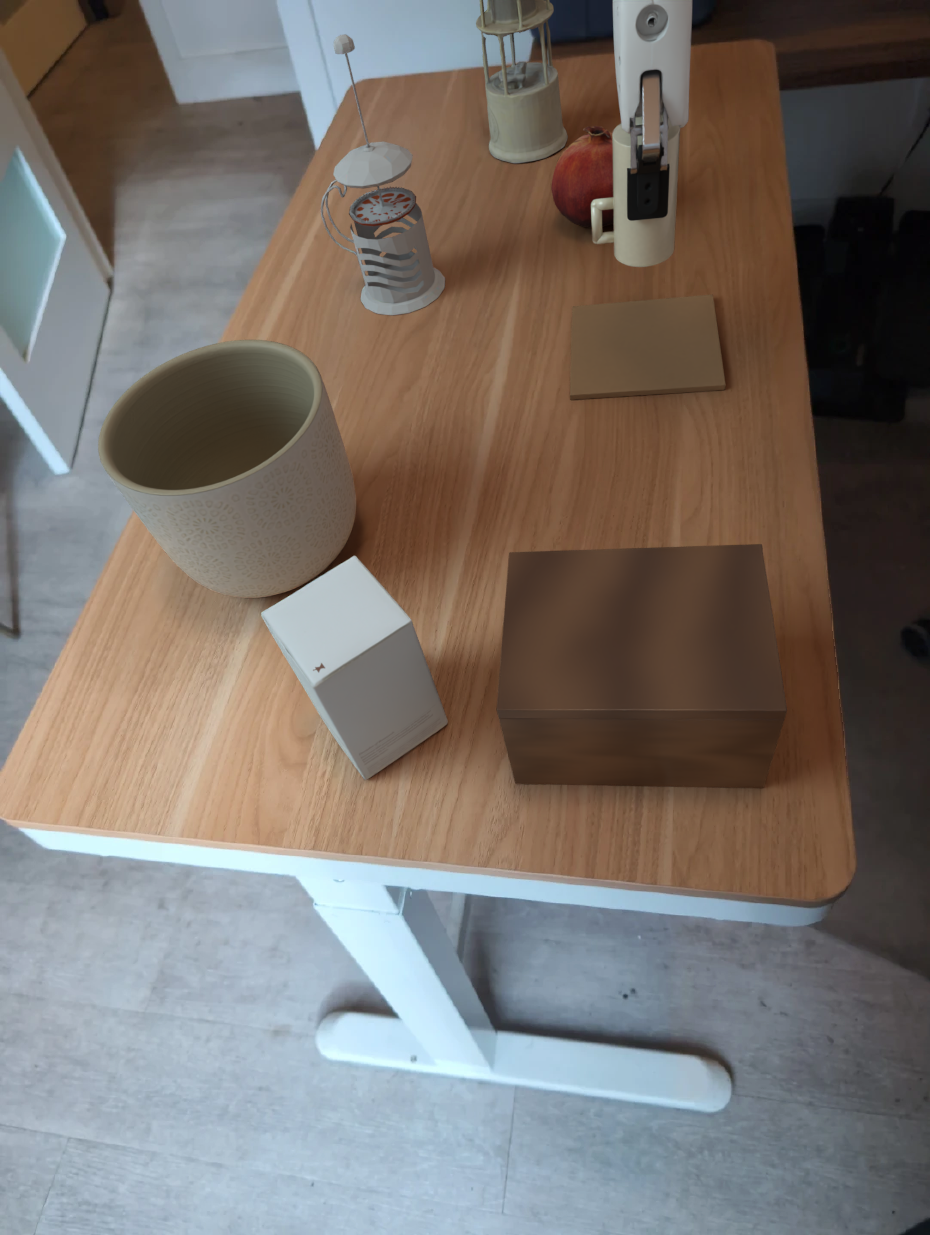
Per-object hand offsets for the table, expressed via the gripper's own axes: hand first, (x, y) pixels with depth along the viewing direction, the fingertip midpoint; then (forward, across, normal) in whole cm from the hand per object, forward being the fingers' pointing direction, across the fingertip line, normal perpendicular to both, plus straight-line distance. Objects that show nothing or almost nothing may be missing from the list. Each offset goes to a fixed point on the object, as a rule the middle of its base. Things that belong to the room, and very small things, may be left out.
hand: (645, 195), depth 69 cm
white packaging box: (+15, -41, +20) cm, 48 cm away
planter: (+15, -24, +32) cm, 43 cm away
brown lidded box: (+15, -40, +2) cm, 43 cm away
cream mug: (+5, 0, 0) cm, 5 cm away
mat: (+15, 0, 0) cm, 15 cm away
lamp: (+15, +46, +13) cm, 50 cm away
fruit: (+15, +24, +4) cm, 29 cm away
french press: (+15, +14, +27) cm, 34 cm away
